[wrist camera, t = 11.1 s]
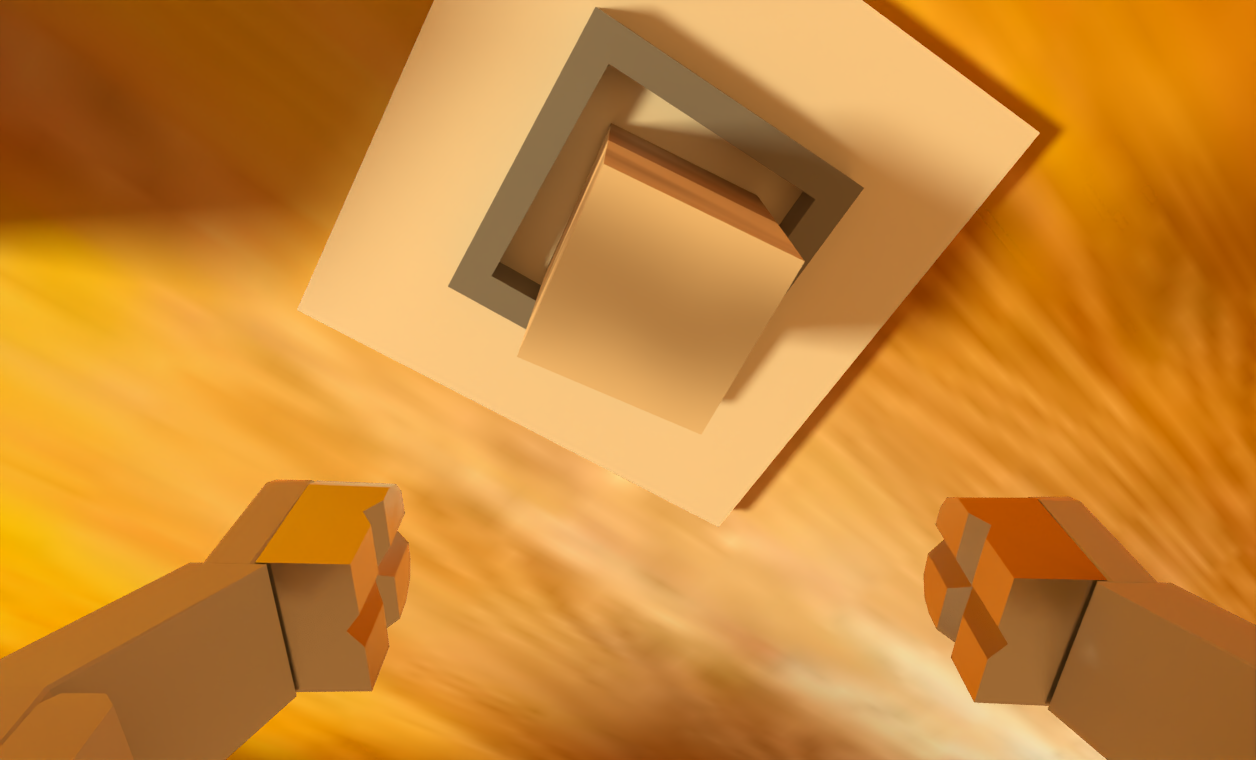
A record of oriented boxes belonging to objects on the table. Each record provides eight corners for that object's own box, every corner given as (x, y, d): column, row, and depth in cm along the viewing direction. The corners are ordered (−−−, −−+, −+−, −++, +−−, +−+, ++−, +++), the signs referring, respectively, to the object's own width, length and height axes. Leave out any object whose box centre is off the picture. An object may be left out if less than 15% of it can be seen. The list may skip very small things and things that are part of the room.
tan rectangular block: (683, 330, 25) (701, 434, 19) (546, 269, 24) (516, 356, 18) (757, 195, 23) (804, 261, 17) (611, 123, 22) (603, 163, 16)
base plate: (715, 508, 30) (723, 552, 27) (310, 297, 26) (277, 326, 23) (1021, 127, 23) (1066, 140, 21) (545, -226, 20) (533, -261, 17)
